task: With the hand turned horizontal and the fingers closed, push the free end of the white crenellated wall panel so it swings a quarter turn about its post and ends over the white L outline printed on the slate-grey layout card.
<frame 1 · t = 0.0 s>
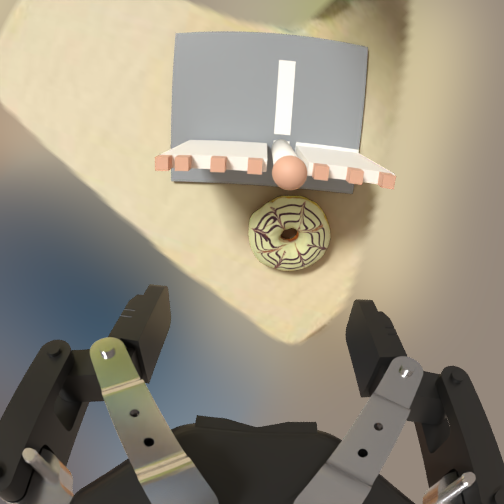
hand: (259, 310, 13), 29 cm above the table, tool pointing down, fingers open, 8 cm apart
white crenellated wall panel: (220, 153, 31), point 8 cm above the table, hinge at 90.0°
decorated donut: (288, 227, 43), on the table
fence post and fixed panel: (281, 148, 37), resting on layout card
layout card: (267, 108, 36), on the table
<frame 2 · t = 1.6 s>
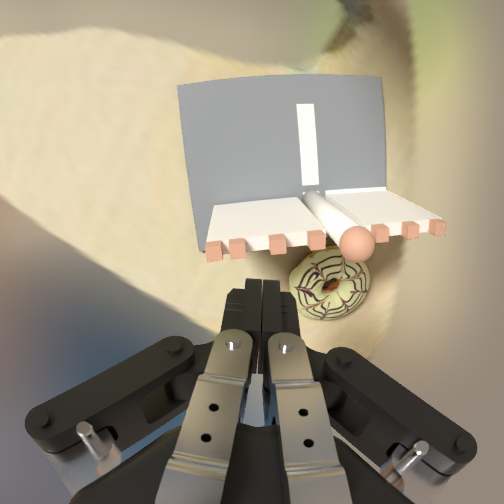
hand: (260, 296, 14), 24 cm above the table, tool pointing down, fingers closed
white crenellated wall panel: (261, 222, 30), point 8 cm above the table, hinge at 90.0°
decorated donut: (325, 276, 42), on the table
fence post and fixed panel: (311, 199, 36), resting on layout card
layout card: (291, 158, 35), on the table
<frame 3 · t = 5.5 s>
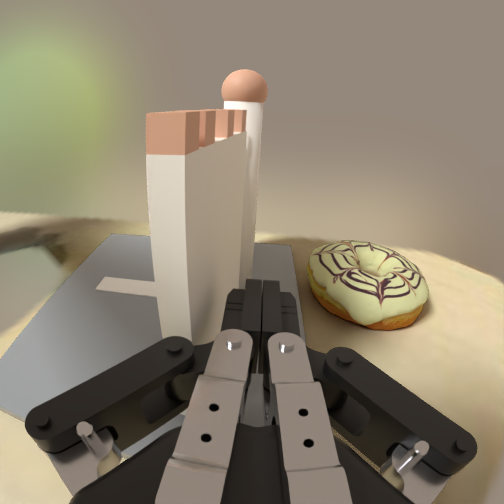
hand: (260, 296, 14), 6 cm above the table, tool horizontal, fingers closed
white crenellated wall panel: (210, 252, 15), point 8 cm above the table, hinge at 82.9°, touching gripper
decorated donut: (362, 300, 26), on the table
fence post and fixed panel: (234, 296, 24), resting on layout card
layout card: (165, 312, 22), on the table
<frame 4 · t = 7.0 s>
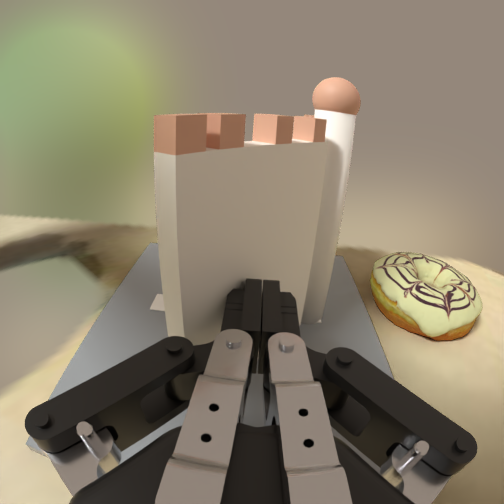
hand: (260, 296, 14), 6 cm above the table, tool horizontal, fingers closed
white crenellated wall panel: (254, 258, 15), point 8 cm above the table, hinge at 51.6°, touching gripper
decorated donut: (419, 311, 25), on the table
fence post and fixed panel: (306, 313, 22), resting on layout card
layout card: (235, 334, 21), on the table
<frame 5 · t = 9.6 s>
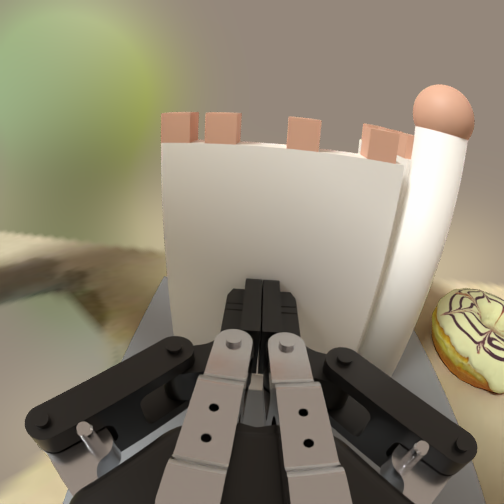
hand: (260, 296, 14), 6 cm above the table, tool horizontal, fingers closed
white crenellated wall panel: (272, 267, 14), point 8 cm above the table, hinge at -3.7°, touching gripper
decorated donut: (477, 356, 19), on the table
fence post and fixed panel: (369, 378, 17), resting on layout card
layout card: (288, 411, 15), on the table
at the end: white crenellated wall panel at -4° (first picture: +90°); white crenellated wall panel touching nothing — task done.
